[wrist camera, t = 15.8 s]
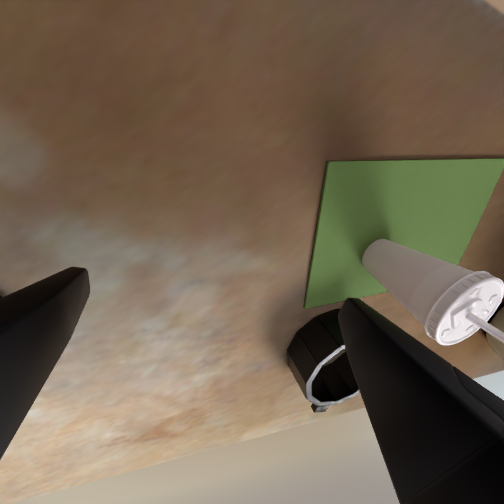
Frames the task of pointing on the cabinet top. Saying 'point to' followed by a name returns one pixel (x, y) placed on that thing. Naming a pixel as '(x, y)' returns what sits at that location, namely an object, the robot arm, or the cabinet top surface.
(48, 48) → the cabinet top surface
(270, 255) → the cabinet top surface
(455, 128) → the cabinet top surface
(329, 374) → the pot
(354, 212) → the cloth
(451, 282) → the smoothie
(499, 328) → the canister
